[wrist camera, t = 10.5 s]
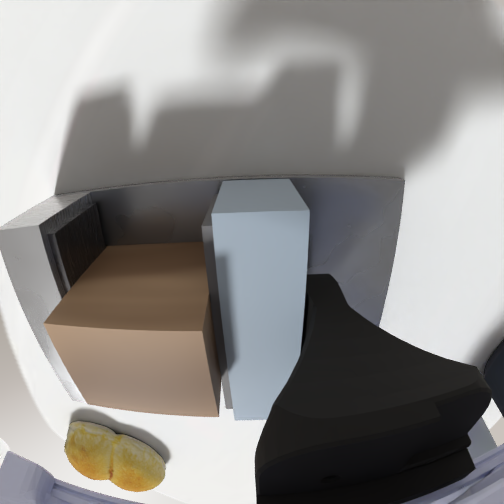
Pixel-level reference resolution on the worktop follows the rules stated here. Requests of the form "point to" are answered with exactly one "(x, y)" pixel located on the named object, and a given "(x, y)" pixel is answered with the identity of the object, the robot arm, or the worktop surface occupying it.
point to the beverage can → (496, 376)
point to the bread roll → (113, 457)
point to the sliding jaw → (256, 288)
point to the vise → (197, 238)
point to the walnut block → (142, 331)
